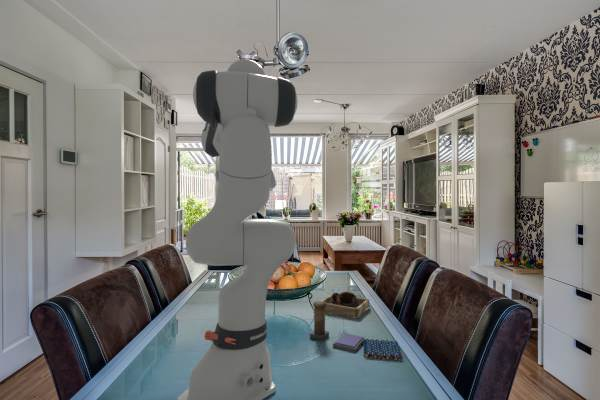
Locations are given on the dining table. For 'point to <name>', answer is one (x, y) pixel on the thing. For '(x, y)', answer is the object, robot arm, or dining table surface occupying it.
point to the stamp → (319, 322)
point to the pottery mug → (345, 299)
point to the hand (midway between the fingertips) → (250, 204)
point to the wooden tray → (346, 310)
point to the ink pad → (349, 342)
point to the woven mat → (382, 349)
